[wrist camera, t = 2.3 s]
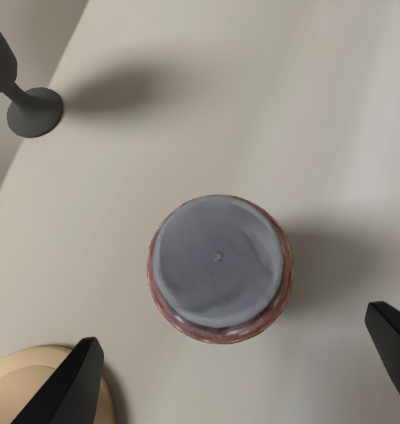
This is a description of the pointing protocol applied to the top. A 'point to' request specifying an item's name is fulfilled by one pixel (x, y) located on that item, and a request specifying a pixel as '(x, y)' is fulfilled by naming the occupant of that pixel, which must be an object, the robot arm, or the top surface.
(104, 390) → the plate
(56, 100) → the sundae
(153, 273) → the supplement bottle
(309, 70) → the top surface
